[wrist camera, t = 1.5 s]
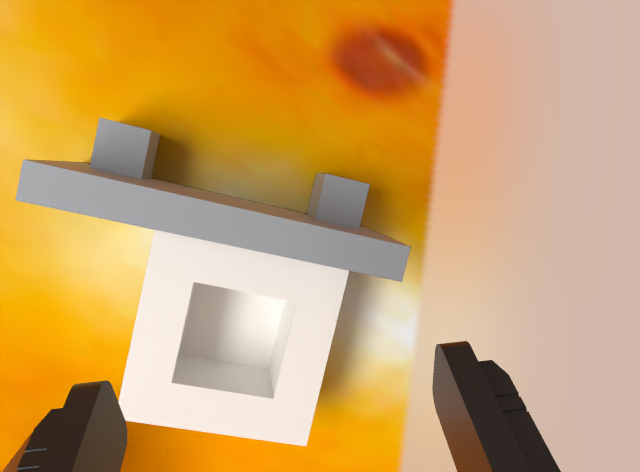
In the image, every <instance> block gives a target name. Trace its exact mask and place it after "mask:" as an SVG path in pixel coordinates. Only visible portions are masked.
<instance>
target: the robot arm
mask: <svg viewBox="0 0 640 472" xmlns="http://www.w3.org/2000/svg"><path fill="white" fill-rule="evenodd" d="M433 375H434V376H433V397H434V404H435V408H436V412H437V414H438V417H439V420H440V423H441V426H442V429H443V432H444V435H445V437H446V440H447V443H448V446H449V449H450V451H451V454H452V457H453V460H454V463H455V466H456V469H457V472H561V471H560V469H559V468H558V466H557V464H556V462H555V460H554V459H553V457H552V455H551V453H550V451H549V449H548V447H547V446H546V444H545V442H544V440H543V438H542V436H541V434H540V433H539V431H538V429H537V427H536V425H535V423H534V421H533V420H532V418H531V416H530V414H529V412H527V410H526V406H525V405H524V403H523V401H522V399H521V397H519V395H518V391H517V390H516V388H515V386H514V384H513V382H512V380H511V378H510V377H509V375H508V374H507V373H506V372H505V371H504V370H503V369H501V368H500V367H499V366H498V365H497V364H496V363H495V362H493V361H492V360H488V361H479V362H478V360H477V358H476V356H475V354H474V352H473V350H472V348H471V346H470V344H469V343H468V342H467V341H463V342H455V343H445V344H437V345H436V349H435V362H434V374H433ZM126 445H127V425H126V421H125V418H124V416H123V413H122V411H121V408H120V406H119V403H118V400H117V398H116V395H115V393H114V390H113V388H112V385H111V383H110V382H109V381H98V382H89V383H81V384H75V385H74V386H73V387H72V388H71V390H70V392H69V394H68V397H67V399H66V402H65V404H64V407H63V408H59V409H52V410H51V411H50V412H49V413H48V414H47V415H46V416H45V417H44V419H43V420H42V421H41V422H40V423H39V424H38V425H37V426H36V428H35V429H34V431H33V433H32V435H31V438H30V440H29V442H28V444H27V447H26V449H25V454H23V456H22V458H21V460H20V462H19V464H18V467H17V468H18V470H17V472H120V469H121V465H122V461H123V458H124V454H125V450H126Z"/></svg>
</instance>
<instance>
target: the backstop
mask: <svg viewBox="0 0 640 472" xmlns="http://www.w3.org/2000/svg"><path fill="white" fill-rule="evenodd" d="M159 139H160V134H158V133H156V132H154V131H151V130H148V129H144V128H139V127H135V126H131V125H127V124H123V123H119V122H115V121H111V120H107V119H103V118H99V123H98V128H97V133H96V138H95V143H94V148H93V153H92V158H91V163H90V164H88V163H83V162H66V161H45V160H24V159H23V163H22V169H21V174H20V179H19V185H18V190H17V195H16V200H17V201H21V202H26V203H31V204H36V205H40V206H45V207H50V208H54V209H59V210H64V211H69V212H73V213H78V214H83V215H88V216H92V217H97V218H102V219H107V220H111V221H116V222H121V223H125V224H130V225H135V226H140V227H144V228H149V229H154V230H159V231H163V232H168V233H173V234H178V235H182V236H187V237H192V238H196V239H201V240H206V241H211V242H215V243H220V244H225V245H230V246H234V247H239V248H244V249H249V250H253V251H258V252H263V253H268V254H272V255H277V256H282V257H286V258H291V259H296V260H301V261H305V262H310V263H315V264H320V265H324V266H329V267H334V268H339V269H343V270H348V271H353V272H357V273H362V274H367V275H372V276H376V277H381V278H386V279H391V280H395V281H400V282H402V279H403V276H404V272H405V268H406V264H407V260H408V256H409V252H410V248H411V247H410V246H407V245H405V244H403V243H401V242H398V241H396V240H394V239H391V238H389V237H387V236H385V235H382V234H380V233H378V232H375V231H373V230H371V229H368V228H366V227H362V226H360V223H361V219H362V215H363V211H364V207H365V203H366V199H367V195H368V190H369V186H370V184H367V183H363V182H359V181H355V180H351V179H347V178H343V177H338V176H334V175H330V174H326V173H316V176H315V180H314V185H313V189H312V193H311V197H310V202H309V206H308V210H307V214H306V213H301V212H297V211H293V210H288V209H284V208H280V207H275V206H271V205H267V204H262V203H258V202H253V201H249V200H245V199H240V198H236V197H232V196H227V195H223V194H219V193H214V192H210V191H205V190H201V189H197V188H192V187H188V186H184V185H179V184H175V183H171V182H166V181H162V180H157V179H153V178H151V177H152V172H153V168H154V163H155V158H156V153H157V148H158V144H159Z"/></svg>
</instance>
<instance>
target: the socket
mask: <svg viewBox="0 0 640 472" xmlns="http://www.w3.org/2000/svg"><path fill="white" fill-rule="evenodd" d="M348 274H349V271H348V270H343V269H339V268H334V267H329V266H324V265H320V264H315V263H310V262H305V261H301V260H296V259H291V258H286V257H282V256H277V255H272V254H268V253H263V252H258V251H253V250H249V249H244V248H239V247H234V246H230V245H225V244H220V243H215V242H211V241H206V240H201V239H196V238H192V237H187V236H182V235H178V234H173V233H168V232H163V231H159V230H155V231H154V236H153V241H152V246H151V250H150V255H149V260H148V265H147V269H146V274H145V279H144V283H143V288H142V293H141V298H140V302H139V307H138V312H137V317H136V321H135V326H134V331H133V336H132V340H131V345H130V350H129V355H128V359H127V364H126V369H125V373H124V378H123V383H122V388H121V392H120V397H119V402H118V403H119V406H120V408H121V411H122V413H123V416H124V418H125V421H131V422H138V423H145V424H152V425H160V426H167V427H174V428H181V429H188V430H195V431H202V432H209V433H216V434H223V435H230V436H237V437H244V438H251V439H258V440H265V441H273V442H280V443H287V444H294V445H301V446H306V445H307V441H308V437H309V433H310V429H311V425H312V421H313V416H314V412H315V408H316V404H317V400H318V396H319V392H320V388H321V384H322V380H323V376H324V372H325V368H326V364H327V359H328V355H329V351H330V347H331V343H332V339H333V335H334V331H335V327H336V323H337V319H338V315H339V311H340V307H341V302H342V298H343V294H344V290H345V286H346V282H347V278H348Z"/></svg>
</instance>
